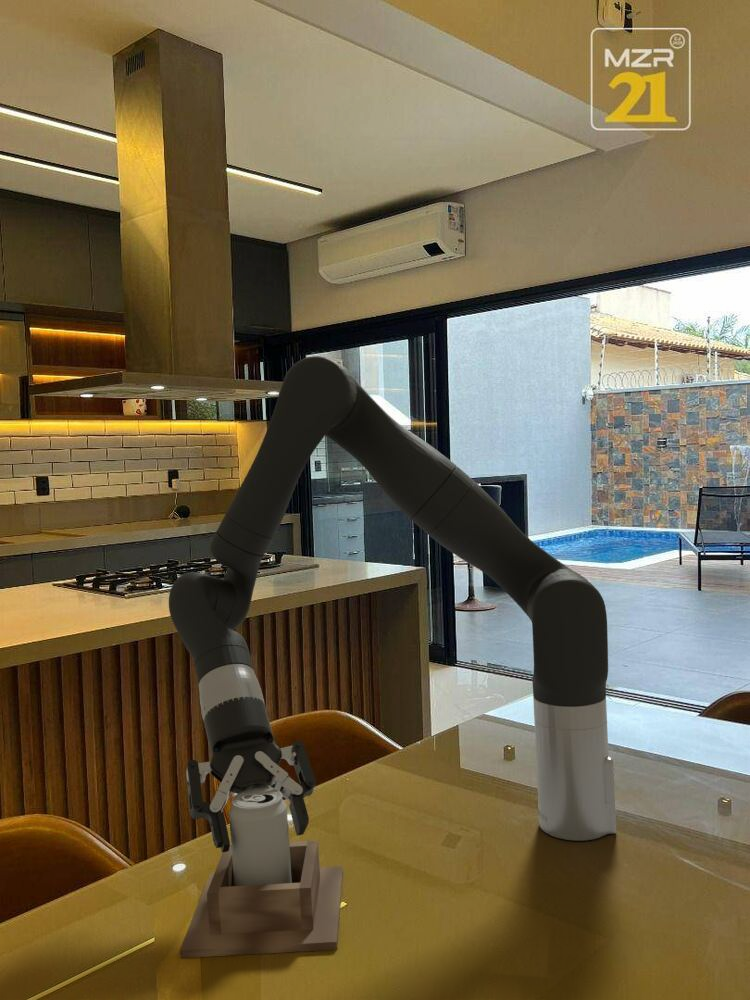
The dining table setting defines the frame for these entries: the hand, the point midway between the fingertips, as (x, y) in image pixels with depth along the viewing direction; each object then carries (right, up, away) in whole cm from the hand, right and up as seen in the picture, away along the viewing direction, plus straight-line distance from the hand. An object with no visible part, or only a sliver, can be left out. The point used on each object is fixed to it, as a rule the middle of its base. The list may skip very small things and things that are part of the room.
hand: (264, 840), depth 95 cm
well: (0, -8, +1) cm, 8 cm away
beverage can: (0, -8, +2) cm, 8 cm away
